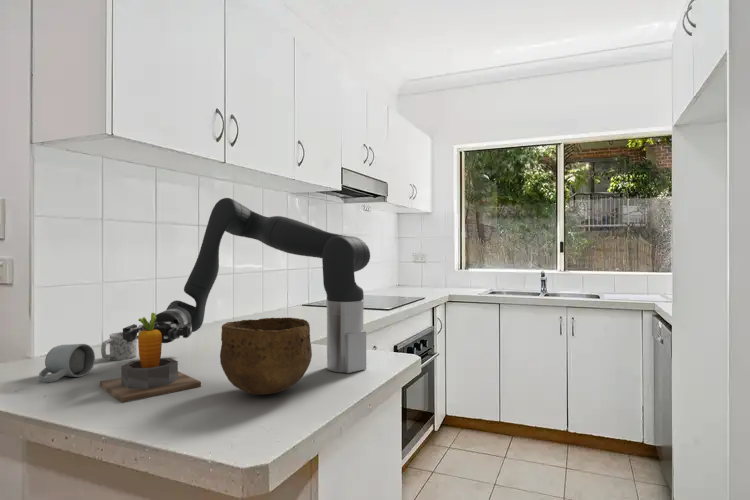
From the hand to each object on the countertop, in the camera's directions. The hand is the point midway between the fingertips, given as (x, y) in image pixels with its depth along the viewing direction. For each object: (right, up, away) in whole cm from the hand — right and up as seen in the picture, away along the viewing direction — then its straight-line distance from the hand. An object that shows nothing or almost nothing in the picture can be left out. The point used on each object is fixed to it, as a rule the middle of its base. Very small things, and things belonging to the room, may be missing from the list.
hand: (149, 336), depth 106 cm
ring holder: (0, -11, +1) cm, 11 cm away
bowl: (+27, -11, -4) cm, 29 cm away
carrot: (0, -10, +1) cm, 10 cm away
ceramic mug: (-24, -11, +9) cm, 28 cm away
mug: (-21, -11, +27) cm, 36 cm away
